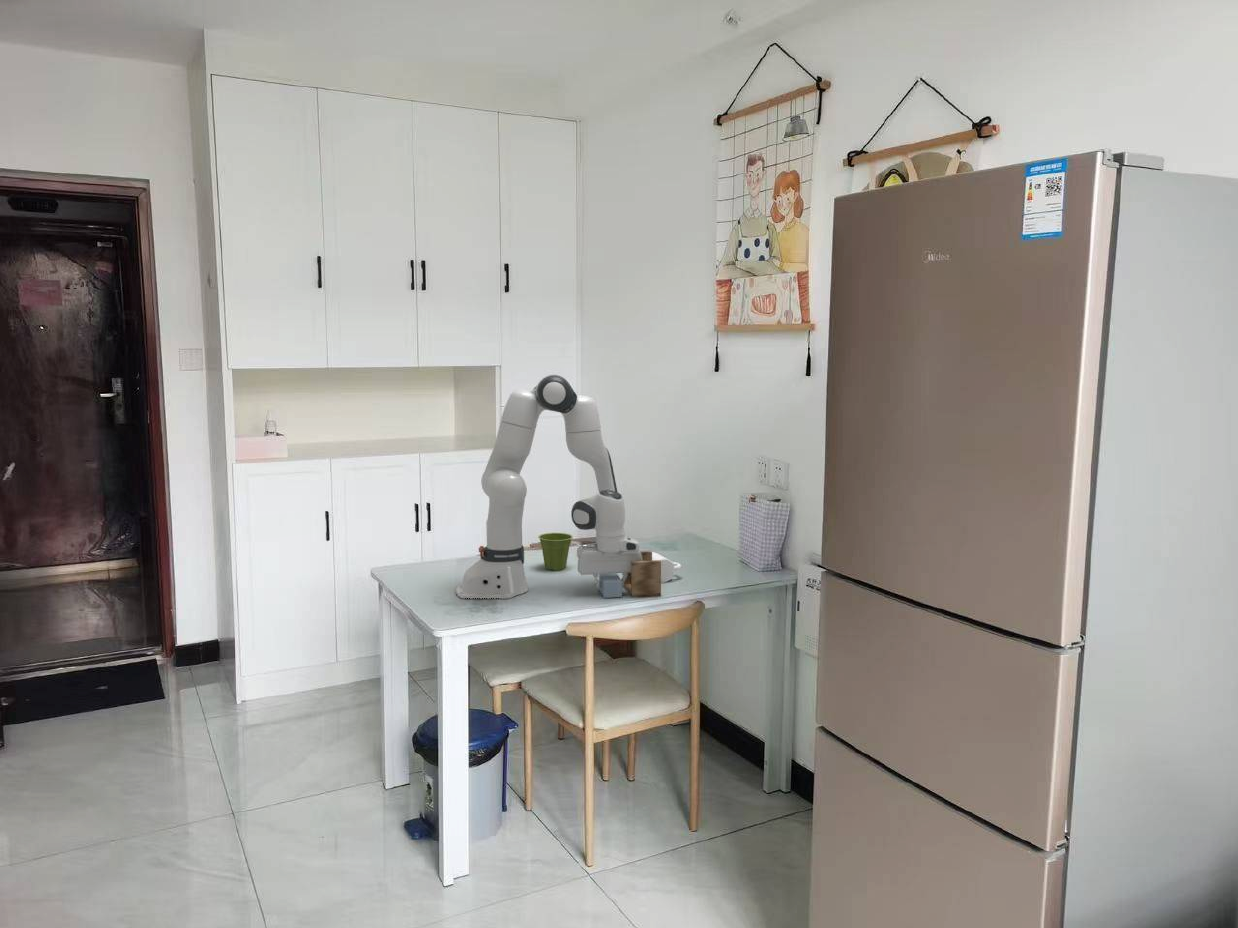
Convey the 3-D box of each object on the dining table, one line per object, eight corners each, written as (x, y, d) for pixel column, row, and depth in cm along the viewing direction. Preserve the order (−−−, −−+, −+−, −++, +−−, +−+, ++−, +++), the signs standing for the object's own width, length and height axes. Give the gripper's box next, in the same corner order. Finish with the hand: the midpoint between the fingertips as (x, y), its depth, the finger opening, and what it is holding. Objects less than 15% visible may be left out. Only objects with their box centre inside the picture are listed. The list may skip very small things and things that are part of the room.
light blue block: (604, 597, 276) (604, 581, 275) (599, 589, 285) (599, 573, 284) (621, 596, 277) (621, 581, 276) (616, 588, 286) (616, 572, 285)
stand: (632, 597, 277) (632, 562, 275) (623, 585, 290) (623, 552, 288) (660, 595, 279) (661, 561, 277) (650, 584, 292) (651, 550, 290)
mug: (652, 584, 292) (652, 560, 291) (640, 576, 301) (640, 553, 300) (685, 580, 296) (686, 556, 295) (672, 572, 306) (673, 549, 304)
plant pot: (557, 574, 304) (557, 541, 302) (531, 569, 311) (531, 537, 309) (580, 567, 313) (579, 535, 311) (554, 562, 320) (553, 530, 318)
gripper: (578, 547, 274) (578, 591, 276) (644, 544, 277) (644, 588, 279) (575, 542, 280) (575, 585, 282) (640, 539, 284) (639, 582, 286)
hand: (610, 586), depth 281 cm, fingers closed on light blue block, 5 cm apart
